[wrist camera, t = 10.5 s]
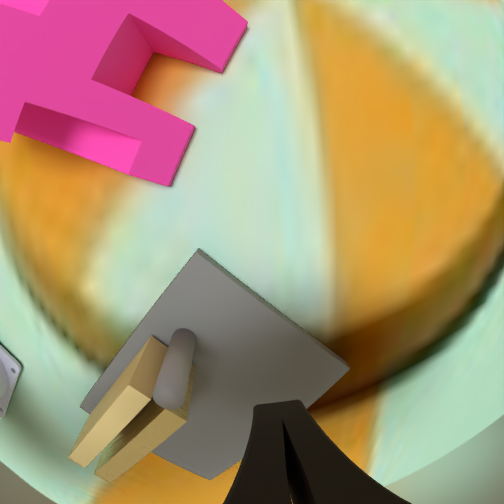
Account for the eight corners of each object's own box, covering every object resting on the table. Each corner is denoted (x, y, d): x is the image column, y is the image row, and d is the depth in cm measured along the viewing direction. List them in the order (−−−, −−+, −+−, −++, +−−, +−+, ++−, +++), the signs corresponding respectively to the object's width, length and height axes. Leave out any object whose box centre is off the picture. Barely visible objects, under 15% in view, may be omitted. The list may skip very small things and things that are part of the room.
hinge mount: (210, 471, 21) (208, 531, 15) (84, 399, 19) (52, 456, 13) (345, 360, 19) (382, 422, 13) (198, 248, 17) (180, 286, 11)
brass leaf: (179, 355, 17) (165, 408, 12) (195, 366, 17) (187, 421, 13) (112, 427, 18) (94, 473, 14) (126, 435, 19) (110, 482, 14)
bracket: (16, 128, 15) (-101, 114, 5) (84, -7, 13) (13, -85, 3) (170, 185, 16) (86, 197, 6) (247, 28, 14) (263, -96, 4)
